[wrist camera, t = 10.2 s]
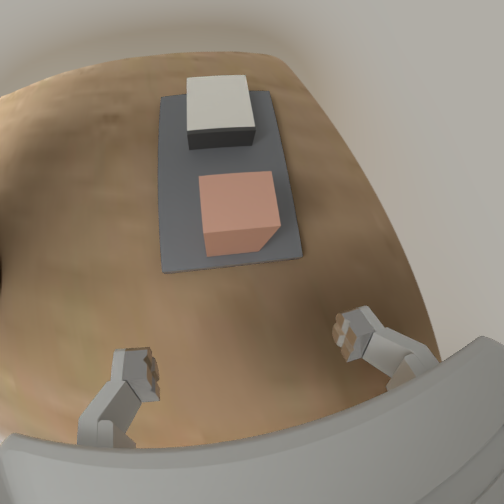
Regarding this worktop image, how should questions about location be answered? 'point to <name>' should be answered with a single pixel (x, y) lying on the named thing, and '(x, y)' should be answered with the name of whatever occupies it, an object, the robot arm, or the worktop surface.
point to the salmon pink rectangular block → (238, 212)
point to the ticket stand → (217, 168)
